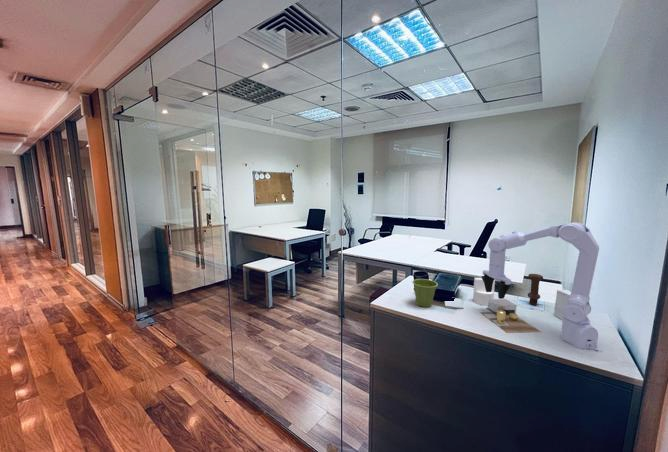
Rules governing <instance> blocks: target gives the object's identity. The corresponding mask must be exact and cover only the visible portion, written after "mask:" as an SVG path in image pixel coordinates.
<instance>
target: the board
mask: <svg viewBox="0 0 668 452" xmlns="http://www.w3.org/2000/svg"><path fill="white" fill-rule="evenodd" d="M485 308H486V309H485V310H487V309H488V310H489V311H490V312H480V314H481V315H482V316H484V317H485V318H486V319H488V320H489V321H491V322H492V323H493V325H495V326H497V327H498V328H499V329H500V330H502V331H504V332H505V333H506V334H514V333H515V334H516V333H517V334H518V333H528V334H529V333H542V331H541V330H539V329H538V328H536V327H535V326H533V325H531V324H529V323H528V322H527V321H525V320H523V319H522V318H520V317H519V315H518V314H517V313H516V314H514V313H512V312H510V311H509V310H506V311H505V312H506V315H505V324H507V325H505V324H504V325H500V324H498V323H496V320H497V314H496V313H495V312H493V311H492V310H490V309H489V308H488V307H485ZM486 314H487V315H490V314H491V315H492V314H493V315H494V316H496V317H494V318H493V317H488V316H487V315H486Z"/></svg>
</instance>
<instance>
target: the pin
mask: <svg viewBox="0 0 668 452" xmlns="http://www.w3.org/2000/svg"><path fill="white" fill-rule="evenodd" d="M506 312H507V311H506V310H497V316H496V318H497V320H495V323H496V324H498V325H499V326H503V325H505V324H506V322H505V315H506Z"/></svg>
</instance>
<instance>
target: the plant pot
mask: <svg viewBox="0 0 668 452" xmlns="http://www.w3.org/2000/svg"><path fill="white" fill-rule="evenodd" d="M412 283H413V287H414V295H415V303H416V305H417V306H418V307H422V308H425V307H426V308H430V307H431V306H432V304H433V301H434V296H435V293H436V290H437V287H438V285H439V283H438V282H436V281H434V280H432V279H428V278H427V279H426V278H417V279H414V280H412Z"/></svg>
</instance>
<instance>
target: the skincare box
mask: <svg viewBox="0 0 668 452" xmlns="http://www.w3.org/2000/svg"><path fill="white" fill-rule="evenodd" d="M570 295H571V291H570V290H568V289H556V295H555V296H556V298H555V303H554V310H553V316H555V317H556V318H558V319H559V320H562V321H563V315H564V314H563V308H564V307H565V306H566V305H567V303H568V300H569V297H570Z"/></svg>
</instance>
